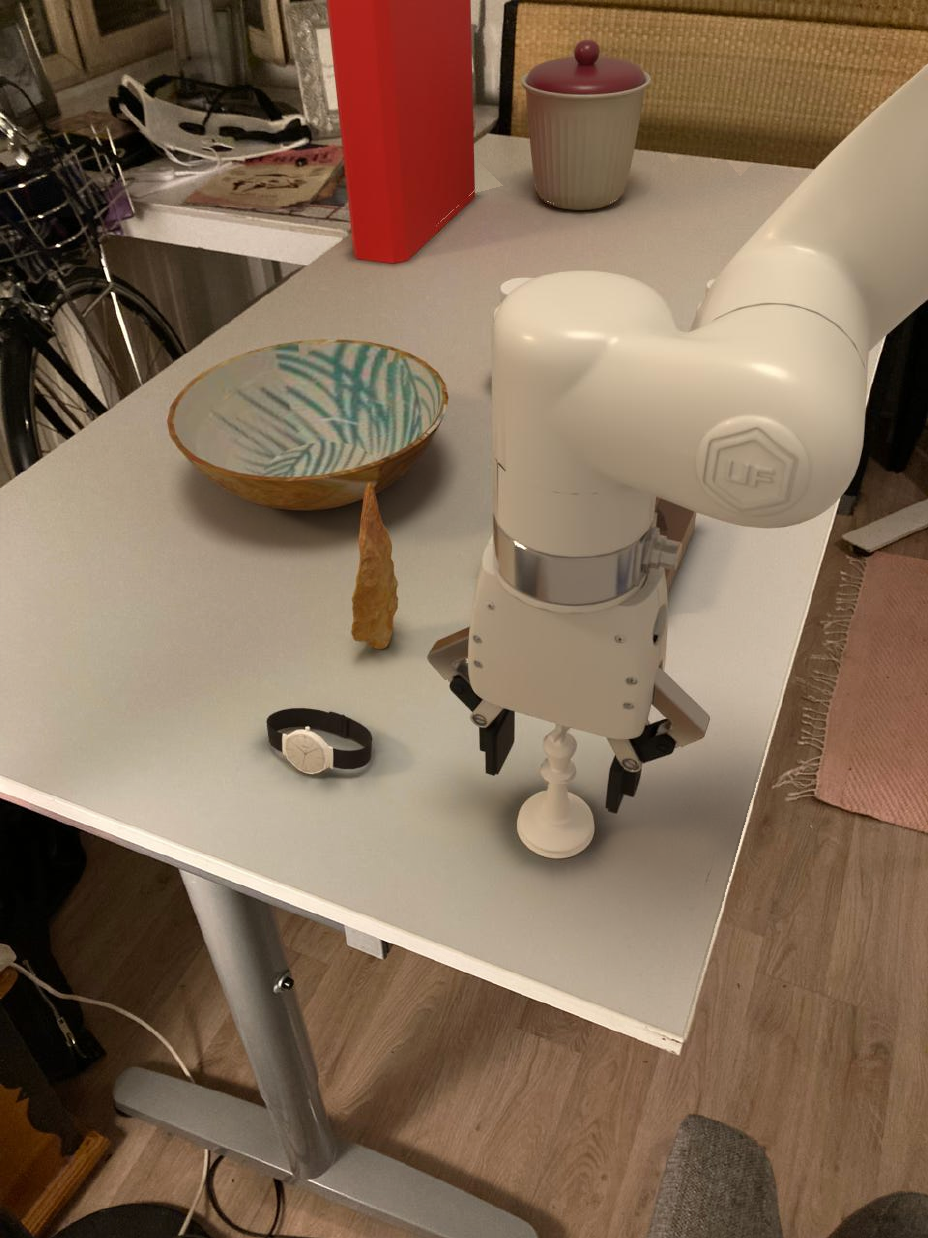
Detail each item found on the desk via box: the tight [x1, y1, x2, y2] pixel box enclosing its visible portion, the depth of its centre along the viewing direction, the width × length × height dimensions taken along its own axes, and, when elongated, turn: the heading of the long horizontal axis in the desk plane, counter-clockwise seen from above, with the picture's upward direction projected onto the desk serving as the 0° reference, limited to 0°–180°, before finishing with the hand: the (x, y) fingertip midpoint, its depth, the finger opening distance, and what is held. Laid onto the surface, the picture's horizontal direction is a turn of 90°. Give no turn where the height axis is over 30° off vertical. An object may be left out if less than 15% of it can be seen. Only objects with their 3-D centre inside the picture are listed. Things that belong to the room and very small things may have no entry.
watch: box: [265, 707, 373, 775], centre depth 66 cm, size 8×5×4 cm, turn 69°
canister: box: [520, 39, 652, 211], centre depth 140 cm, size 18×18×21 cm
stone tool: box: [350, 482, 399, 650], centre depth 70 cm, size 5×2×15 cm, turn 159°
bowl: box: [166, 338, 449, 511], centre depth 90 cm, size 25×25×8 cm
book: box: [326, 0, 476, 265], centre depth 130 cm, size 27×8×32 cm, turn 159°
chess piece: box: [516, 723, 595, 859], centre depth 59 cm, size 5×5×10 cm
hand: (558, 774), depth 59 cm, fingers open, 6 cm apart
